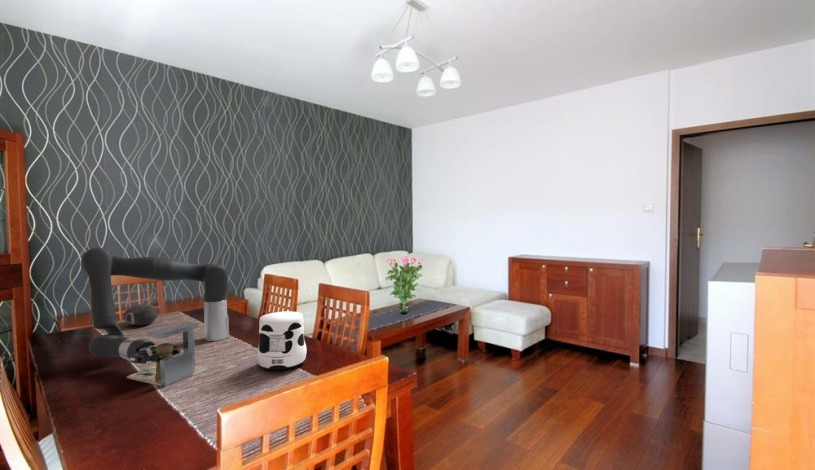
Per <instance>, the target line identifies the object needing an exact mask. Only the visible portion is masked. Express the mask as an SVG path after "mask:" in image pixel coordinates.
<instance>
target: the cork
mask: <svg viewBox="0 0 815 470" xmlns="http://www.w3.org/2000/svg"><path fill="white" fill-rule="evenodd" d="M172 344H173V343H170V342H163V343H160V344H157V345H158V346H157V347H156V349H155V352H156V354H157V355H161V356H162V359H165V358H168V357H170V356H173V355H172V351H173V345H172ZM155 363H156V365H155V366H156V372H155V379H157V380H161V371H160V363H158V362H155Z"/></svg>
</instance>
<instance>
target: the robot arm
mask: <svg viewBox="0 0 815 470" xmlns="http://www.w3.org/2000/svg"><path fill="white" fill-rule="evenodd" d="M80 267H81V269H82V271H83V272H85V273H86V274H87V277H88V279H89V285H90V287H89V288H90V310H91V312H90V313H91V319H92V326H93V328H94V329H95V330H104V331H105V332H106V333H107V334H102V335H97V336H95V337H94V338H92V339H91V341H90V342H89V345H88V349H89V352H90V353H91V354H93V356H95V357H102V358H103V357H118V358H122V359H125V360H128V361H129V363H132V364H142V365H146V364H147V363H152V362H154V363H157V362H158V363H160V360H162V356H161V355H157V354H156V352H155V349H156V347H157V346H158V345H159V344H156V343H154V341H152V340H150V339H143V338H137V337H129V336H125V335H124V333H123V331H122V330H121V327H120V325H119V322H118V321H117V320H118V319H117V315H116V307H115V300H114V294H113V289H112V276H124V277H130V278H139V279H147V280H154V281H169V282H170V281H184V280H185V281H196V282H202V283H204V295H203V313H204V314H203V315H204V318H203V319H204V340H205V341H206V342H216V341H217V342H218V341H222V340H225V339H228V338H230V331H229V330H230V328H229V327H230V326H229V325H230V323H229V322H230V321H229V315H228V303H227V301H228V300H227V299H228V298H227V297H228V292H229V290H228V289H229V280H228V279H229V277H228V271H227V270H226V269H227V268H225V267H224V266H222V265H220V264H218V263H217V264H216V263H191V262H187V261H182V260H178V259H172V258H166V257H156V256H142V257H122V256H121V257H120V256H115V255H112V254H111V253H110V252H109V251H108V249H105V248H102V247H92V248H90V249H88V250H87V251H86V252H85V253H84V254H83V255H82V257H81V261H80ZM171 344H172V345H173V351H172V356H173V355H176V354H179V353H181V349H179V348H177V347H178V345H176V344H174V343H171Z"/></svg>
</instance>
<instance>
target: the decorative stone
mask: <svg viewBox="0 0 815 470" xmlns="http://www.w3.org/2000/svg"><path fill="white" fill-rule="evenodd" d="M158 315H159V311H158V309H157V308H156V307H155V306H154V305H152V304H148V303H140V304H136V305H132V306H130V307H128V308H127V309H126V310H125V312H124V315H123V319H124V321H125V322H126V323H127V324H128V325H132V326H137V327H138V326H146V325H150V324H152V323H153V322H154V321H155V320H156V319H157V318H158Z"/></svg>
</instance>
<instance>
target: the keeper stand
mask: <svg viewBox="0 0 815 470" xmlns="http://www.w3.org/2000/svg"><path fill="white" fill-rule="evenodd" d="M198 328H199V322H198V323H197V322H191V321H181V322H178V323H174V324H169V325H166V326H163V327H158V328H155V329H152V330H149V331H147V333H146V334H147V335H146V336H147V337H151V338H157V339H165V338H168V337H171V336H175V335H178V334H182V345H183V347H182V349H183V352H180V353H179V354H176V355H172V356H170V357H168V358H165V359H162V360H160V371H161V380H157V379H155V372H156V365H154V366H152V367H148V368H145V369H142V370H139V371H137V372H136V373H133V374H129V375H127V376H126V379H130V380H133V381H138V382H142V383H145V384H146V383H147V384H151V385H155V386H159V387H163V388H166V387H169V386H171V385H174V384H176V383H178V382H180V381H182V380H185V379H188V378H191V377H192V376H195V375H198V374H200V373H202V372H204V371H206V370H207V367H201V366H199V365H198V366H197V365H196V348H195V345H196V344H195V329H198Z"/></svg>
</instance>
